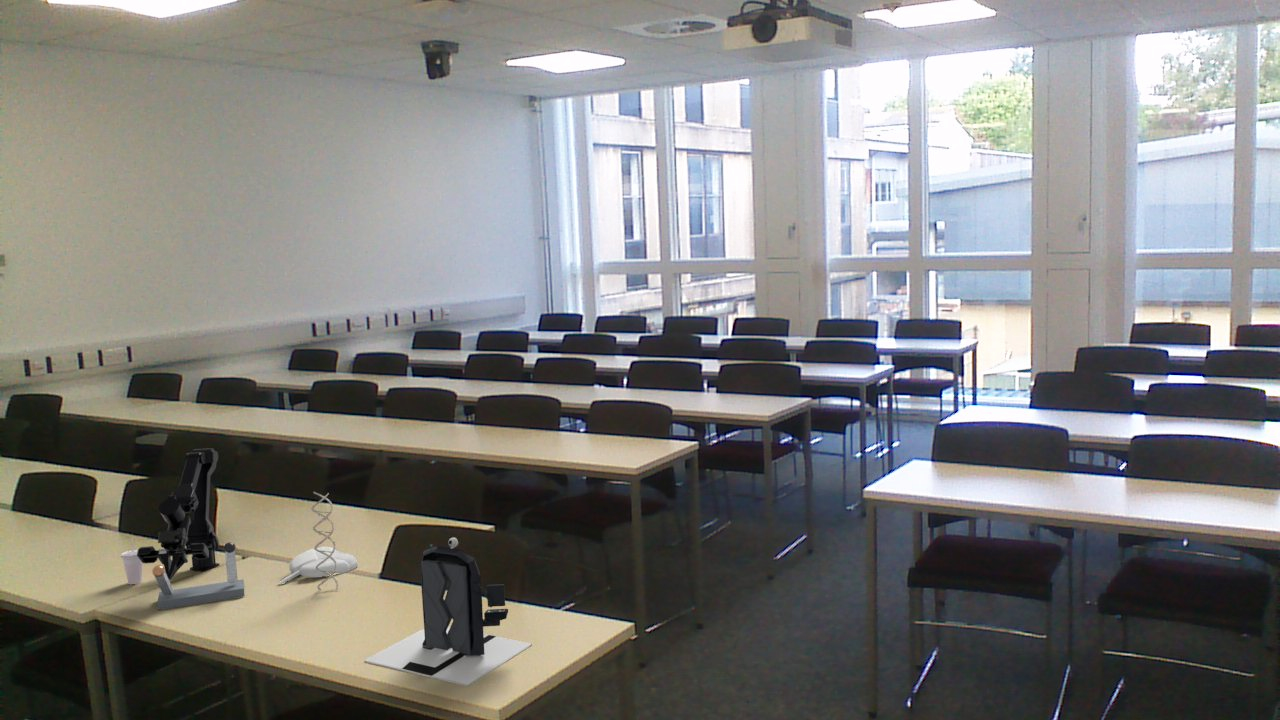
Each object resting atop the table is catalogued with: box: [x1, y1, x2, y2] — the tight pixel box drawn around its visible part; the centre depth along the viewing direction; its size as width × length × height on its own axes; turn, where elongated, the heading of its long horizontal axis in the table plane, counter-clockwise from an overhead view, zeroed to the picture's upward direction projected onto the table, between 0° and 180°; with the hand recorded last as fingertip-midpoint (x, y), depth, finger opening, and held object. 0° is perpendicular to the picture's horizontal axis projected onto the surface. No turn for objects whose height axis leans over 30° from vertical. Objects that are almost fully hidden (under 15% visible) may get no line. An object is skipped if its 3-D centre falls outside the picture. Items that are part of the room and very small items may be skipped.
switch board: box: [156, 578, 245, 611], centre depth 285 cm, size 9×23×2 cm, turn 113°
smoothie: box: [120, 538, 144, 586], centre depth 301 cm, size 6×6×14 cm
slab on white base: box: [364, 537, 532, 687], centre depth 238 cm, size 32×25×28 cm
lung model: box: [277, 546, 358, 585], centre depth 305 cm, size 7×17×25 cm
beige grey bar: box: [223, 542, 239, 584], centre depth 288 cm, size 3×3×12 cm
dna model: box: [311, 491, 339, 591], centre depth 287 cm, size 7×6×30 cm
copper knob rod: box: [151, 564, 175, 596], centre depth 277 cm, size 3×3×12 cm
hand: (168, 579), depth 282 cm, fingers closed
